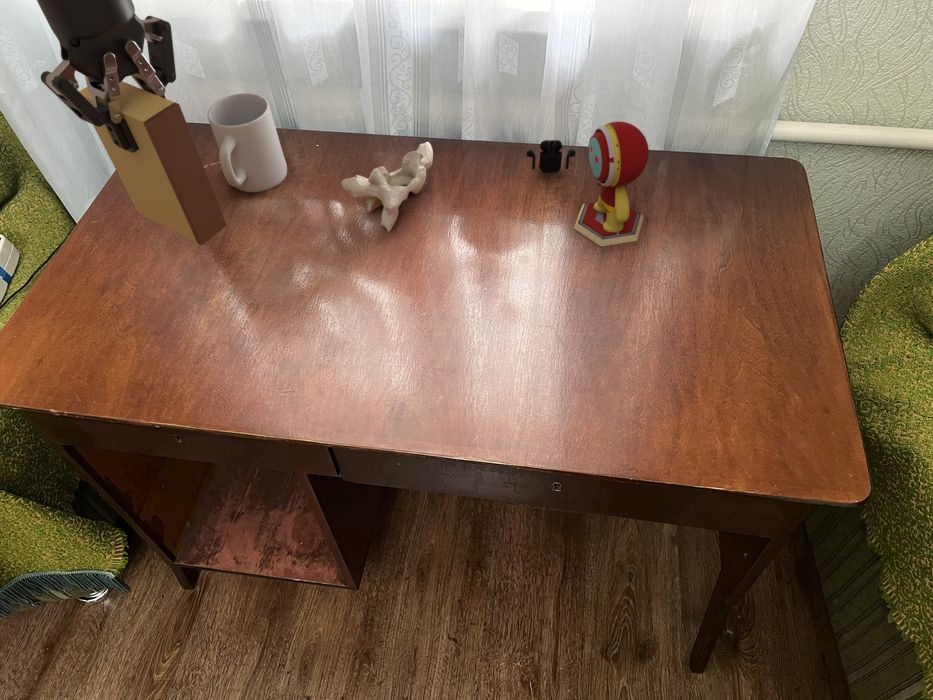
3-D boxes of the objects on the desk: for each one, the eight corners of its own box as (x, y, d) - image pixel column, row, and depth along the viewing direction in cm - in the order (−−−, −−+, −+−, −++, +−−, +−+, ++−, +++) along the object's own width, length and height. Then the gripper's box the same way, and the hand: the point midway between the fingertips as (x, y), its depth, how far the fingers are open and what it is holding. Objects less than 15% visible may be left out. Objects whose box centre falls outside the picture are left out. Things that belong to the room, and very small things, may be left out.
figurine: (564, 208, 97) (574, 112, 85) (632, 197, 98) (651, 101, 86) (583, 249, 92) (596, 153, 80) (654, 238, 92) (677, 141, 81)
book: (75, 92, 72) (147, 124, 68) (107, 74, 74) (179, 103, 70) (137, 213, 84) (201, 245, 80) (163, 194, 86) (227, 225, 82)
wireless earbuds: (526, 173, 102) (527, 144, 98) (525, 163, 104) (527, 133, 100) (573, 173, 102) (577, 143, 98) (573, 163, 103) (576, 133, 99)
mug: (243, 155, 107) (221, 90, 99) (295, 160, 106) (278, 94, 97) (212, 205, 100) (185, 139, 91) (267, 211, 99) (246, 145, 90)
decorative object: (353, 219, 99) (334, 171, 93) (418, 166, 105) (404, 118, 99) (396, 236, 94) (378, 187, 88) (462, 180, 100) (449, 130, 94)
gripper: (26, 12, 56) (117, 185, 69) (162, -54, 63) (221, 114, 76) (-28, -9, 58) (70, 162, 72) (108, -70, 66) (175, 96, 79)
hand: (148, 137), depth 74 cm, fingers closed on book, 4 cm apart
